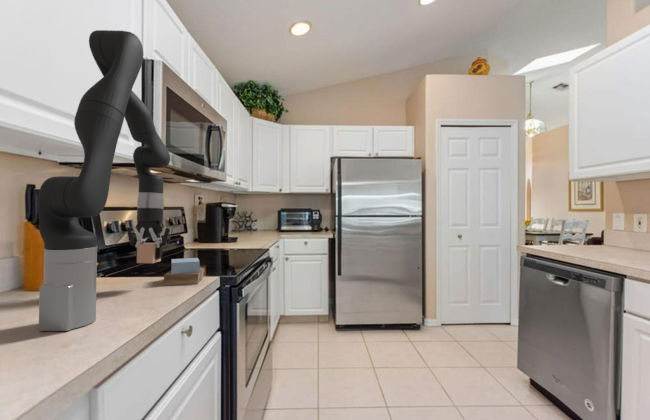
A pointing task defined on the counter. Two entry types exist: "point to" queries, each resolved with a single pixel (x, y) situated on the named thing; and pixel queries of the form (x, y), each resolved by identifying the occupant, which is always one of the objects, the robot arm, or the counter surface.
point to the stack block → (146, 253)
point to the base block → (183, 278)
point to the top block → (185, 266)
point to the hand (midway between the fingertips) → (149, 258)
